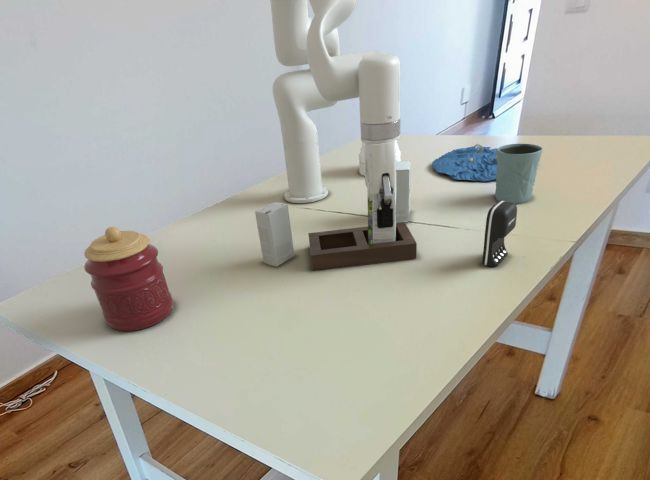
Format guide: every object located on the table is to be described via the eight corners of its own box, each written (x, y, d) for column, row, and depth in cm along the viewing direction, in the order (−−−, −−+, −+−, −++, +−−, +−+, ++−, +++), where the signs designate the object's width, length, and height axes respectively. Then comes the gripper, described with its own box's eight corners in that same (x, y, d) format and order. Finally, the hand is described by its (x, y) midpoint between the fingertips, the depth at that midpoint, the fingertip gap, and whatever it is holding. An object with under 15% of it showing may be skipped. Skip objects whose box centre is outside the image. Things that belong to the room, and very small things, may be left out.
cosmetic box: (281, 253, 113) (273, 200, 106) (295, 257, 110) (289, 203, 103) (262, 263, 109) (253, 210, 102) (277, 268, 107) (268, 213, 100)
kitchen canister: (138, 339, 89) (104, 247, 79) (92, 323, 95) (55, 237, 85) (188, 304, 97) (164, 218, 87) (143, 292, 104) (115, 210, 93)
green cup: (489, 203, 124) (495, 154, 117) (494, 190, 132) (499, 142, 125) (533, 205, 121) (541, 154, 114) (535, 191, 128) (543, 142, 121)
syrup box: (369, 238, 110) (367, 171, 102) (396, 237, 109) (396, 170, 101) (368, 249, 106) (365, 180, 98) (396, 248, 105) (396, 178, 97)
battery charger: (499, 269, 96) (507, 212, 90) (480, 265, 98) (486, 209, 92) (512, 255, 101) (521, 200, 94) (494, 252, 103) (501, 197, 96)
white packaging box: (409, 222, 120) (409, 169, 112) (378, 223, 121) (377, 170, 114) (410, 211, 125) (411, 160, 118) (381, 212, 127) (380, 161, 120)
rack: (309, 247, 114) (308, 233, 112) (404, 236, 113) (404, 221, 111) (312, 270, 104) (311, 255, 102) (416, 258, 104) (416, 243, 102)
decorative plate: (552, 180, 137) (556, 161, 134) (442, 189, 139) (444, 170, 135) (518, 148, 160) (521, 131, 157) (424, 156, 162) (425, 140, 159)
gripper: (355, 123, 102) (359, 209, 112) (367, 143, 87) (370, 239, 98) (391, 119, 101) (392, 205, 112) (409, 138, 87) (408, 234, 98)
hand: (382, 220), depth 105 cm, fingers closed on syrup box, 6 cm apart
